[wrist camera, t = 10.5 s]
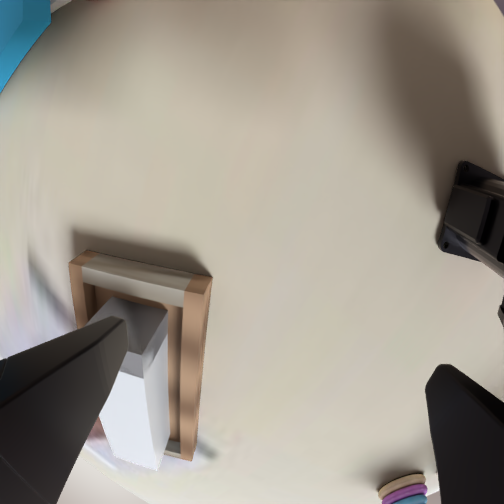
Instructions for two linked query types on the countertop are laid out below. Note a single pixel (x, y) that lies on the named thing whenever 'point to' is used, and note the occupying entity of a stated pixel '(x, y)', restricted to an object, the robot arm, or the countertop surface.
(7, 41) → the lever
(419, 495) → the stacking toy
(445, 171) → the countertop surface
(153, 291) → the wooden tray
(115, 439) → the white tall block
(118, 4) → the countertop surface
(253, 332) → the countertop surface
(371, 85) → the countertop surface
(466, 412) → the robot arm
